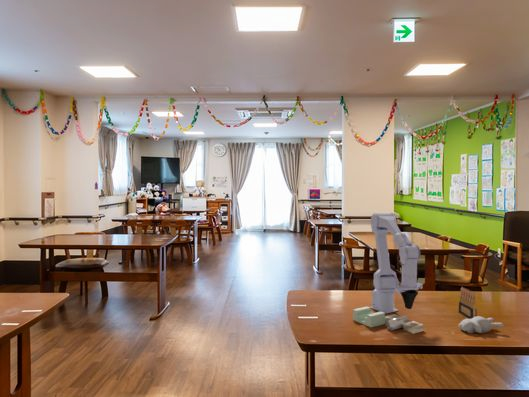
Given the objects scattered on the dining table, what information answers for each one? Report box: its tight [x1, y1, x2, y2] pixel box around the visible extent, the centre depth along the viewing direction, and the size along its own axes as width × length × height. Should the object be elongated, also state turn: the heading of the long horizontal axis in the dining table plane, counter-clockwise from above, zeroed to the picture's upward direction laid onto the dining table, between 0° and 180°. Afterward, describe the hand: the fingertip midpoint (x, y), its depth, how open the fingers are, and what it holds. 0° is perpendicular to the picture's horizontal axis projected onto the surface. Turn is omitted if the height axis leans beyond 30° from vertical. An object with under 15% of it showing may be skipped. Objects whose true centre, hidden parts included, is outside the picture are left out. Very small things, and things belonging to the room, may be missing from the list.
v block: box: [352, 306, 386, 328], centre depth 161 cm, size 10×8×4 cm
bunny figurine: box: [458, 315, 504, 334], centre depth 152 cm, size 10×5×15 cm
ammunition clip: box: [458, 286, 478, 319], centre depth 168 cm, size 11×2×12 cm, turn 3°
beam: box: [385, 314, 424, 335], centre depth 156 cm, size 14×6×2 cm, turn 31°
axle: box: [385, 315, 410, 331], centre depth 155 cm, size 4×9×4 cm, turn 121°
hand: (408, 308), depth 157 cm, fingers closed
